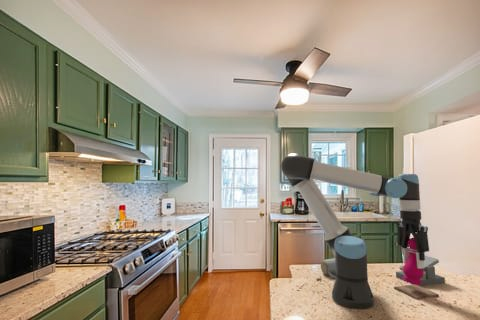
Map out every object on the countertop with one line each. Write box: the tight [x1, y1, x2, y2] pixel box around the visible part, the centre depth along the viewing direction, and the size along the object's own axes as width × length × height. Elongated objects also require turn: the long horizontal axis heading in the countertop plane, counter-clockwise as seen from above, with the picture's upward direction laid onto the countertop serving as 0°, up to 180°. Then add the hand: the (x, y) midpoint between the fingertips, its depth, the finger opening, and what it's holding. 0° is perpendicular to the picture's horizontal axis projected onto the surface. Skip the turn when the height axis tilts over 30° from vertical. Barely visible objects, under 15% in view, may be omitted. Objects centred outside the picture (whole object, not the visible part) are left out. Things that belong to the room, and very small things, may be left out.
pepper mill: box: [402, 237, 424, 285], centre depth 111 cm, size 7×7×20 cm
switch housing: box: [395, 265, 446, 287], centre depth 124 cm, size 15×13×8 cm
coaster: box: [393, 284, 440, 300], centre depth 110 cm, size 11×11×1 cm
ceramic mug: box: [320, 257, 336, 279], centre depth 131 cm, size 11×8×8 cm
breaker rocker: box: [398, 255, 440, 272], centre depth 124 cm, size 14×9×4 cm, turn 104°
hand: (413, 265), depth 111 cm, fingers closed on pepper mill, 6 cm apart
